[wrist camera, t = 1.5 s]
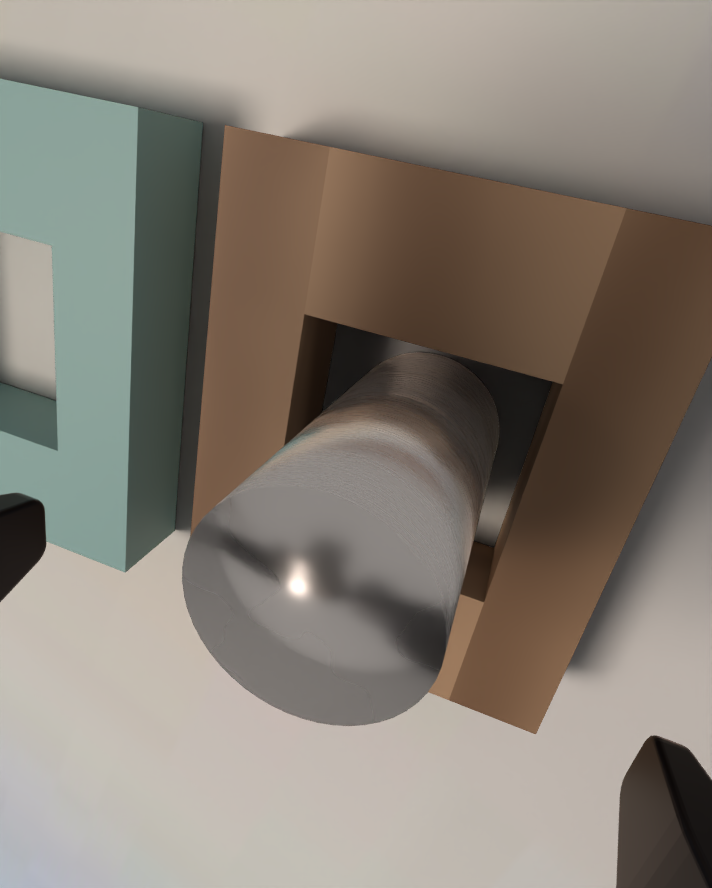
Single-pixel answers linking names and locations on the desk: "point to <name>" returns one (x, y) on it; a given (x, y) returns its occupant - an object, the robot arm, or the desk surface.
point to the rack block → (102, 314)
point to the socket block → (470, 336)
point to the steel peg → (350, 546)
